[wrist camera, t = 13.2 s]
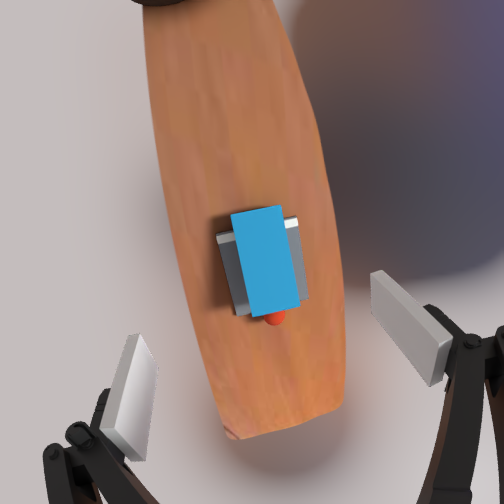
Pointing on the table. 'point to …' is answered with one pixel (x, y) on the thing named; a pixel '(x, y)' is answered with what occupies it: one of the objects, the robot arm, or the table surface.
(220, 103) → the table surface
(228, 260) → the mat
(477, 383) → the robot arm
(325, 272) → the table surface
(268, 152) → the table surface
